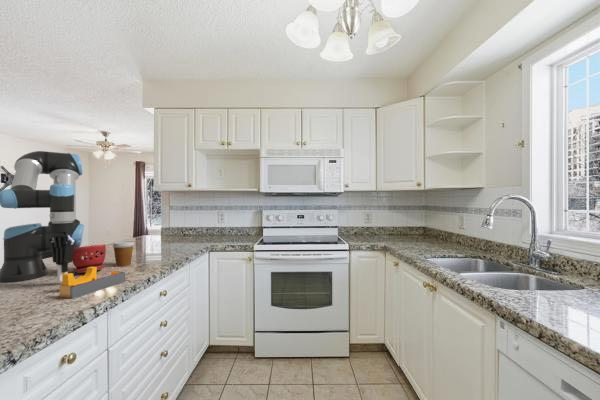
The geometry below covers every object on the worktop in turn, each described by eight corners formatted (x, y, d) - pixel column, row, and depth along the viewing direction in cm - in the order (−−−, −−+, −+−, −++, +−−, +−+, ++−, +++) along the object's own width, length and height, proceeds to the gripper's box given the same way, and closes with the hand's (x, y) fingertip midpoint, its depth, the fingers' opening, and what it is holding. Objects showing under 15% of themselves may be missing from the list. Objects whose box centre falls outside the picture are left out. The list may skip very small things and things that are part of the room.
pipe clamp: (87, 281, 114) (87, 266, 114) (96, 282, 113) (96, 266, 113) (58, 291, 102) (58, 274, 102) (68, 292, 102) (68, 274, 101)
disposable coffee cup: (107, 267, 138) (107, 243, 137) (123, 262, 147) (122, 240, 147) (124, 267, 136) (124, 244, 136) (138, 263, 145) (138, 241, 145)
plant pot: (113, 267, 132) (111, 243, 133) (83, 273, 120) (82, 246, 121) (95, 268, 137) (94, 244, 137) (65, 274, 124) (63, 248, 125)
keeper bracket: (59, 296, 96) (59, 285, 96) (113, 280, 115) (113, 270, 115) (72, 298, 94) (72, 287, 94) (125, 281, 113) (125, 272, 113)
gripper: (40, 222, 109) (40, 281, 109) (62, 223, 105) (62, 284, 105) (62, 221, 116) (62, 276, 116) (83, 221, 112) (83, 278, 112)
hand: (62, 280), depth 110 cm, fingers closed
